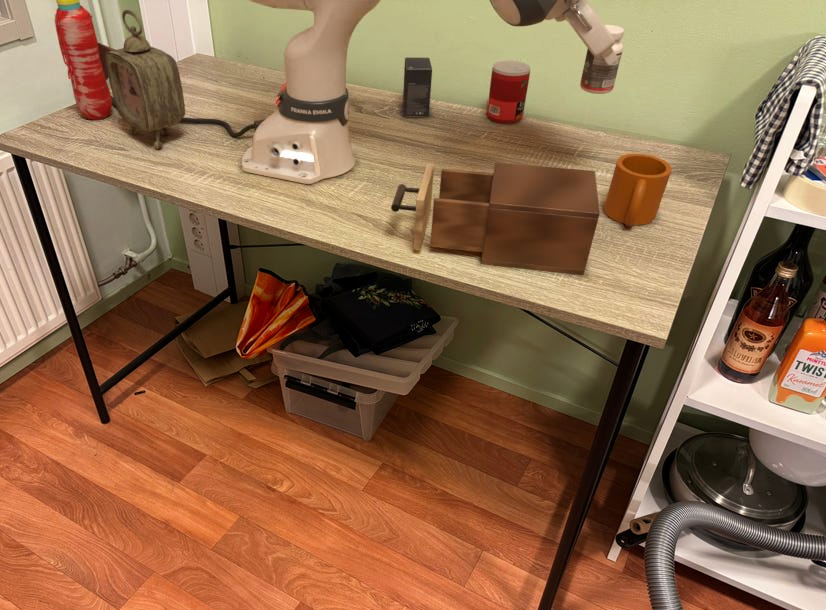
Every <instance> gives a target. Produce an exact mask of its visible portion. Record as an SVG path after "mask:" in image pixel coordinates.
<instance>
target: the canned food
mask: <svg viewBox="0 0 826 610" xmlns="http://www.w3.org/2000/svg"><path fill="white" fill-rule="evenodd" d="M530 74H531V66H530V65H529V64H527V63H525V62H522V61H517V60H501V61H497V62H495V63H493V64H492V68H491V77H490V84H489V92H488V100H487V110H486V114H487V115H486V116H487V118H488V119H489V120H490V121H492V122H494V123H497V124H498V123H499V124H505V125H506V124H507V125H509V124H516V123H518V122H521V120H522V118H523V116H524V113H525V107H526V106H525V105H526V100H527V95H528V87H529V82H530V77H531V75H530Z"/></svg>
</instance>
